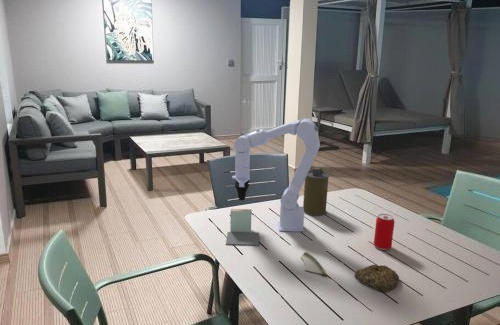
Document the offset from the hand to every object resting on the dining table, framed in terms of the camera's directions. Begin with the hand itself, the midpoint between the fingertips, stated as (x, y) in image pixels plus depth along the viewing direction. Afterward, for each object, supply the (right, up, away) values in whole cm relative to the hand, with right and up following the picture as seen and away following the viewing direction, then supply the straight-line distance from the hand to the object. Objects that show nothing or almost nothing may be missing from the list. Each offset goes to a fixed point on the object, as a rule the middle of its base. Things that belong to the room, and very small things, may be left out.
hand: (241, 198), depth 162 cm
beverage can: (+52, -17, -16) cm, 56 cm away
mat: (+1, -14, -12) cm, 19 cm away
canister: (+32, -7, +16) cm, 37 cm away
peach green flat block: (0, -12, -6) cm, 14 cm away
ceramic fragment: (+24, -20, -30) cm, 44 cm away
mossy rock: (+43, -22, -37) cm, 61 cm away
